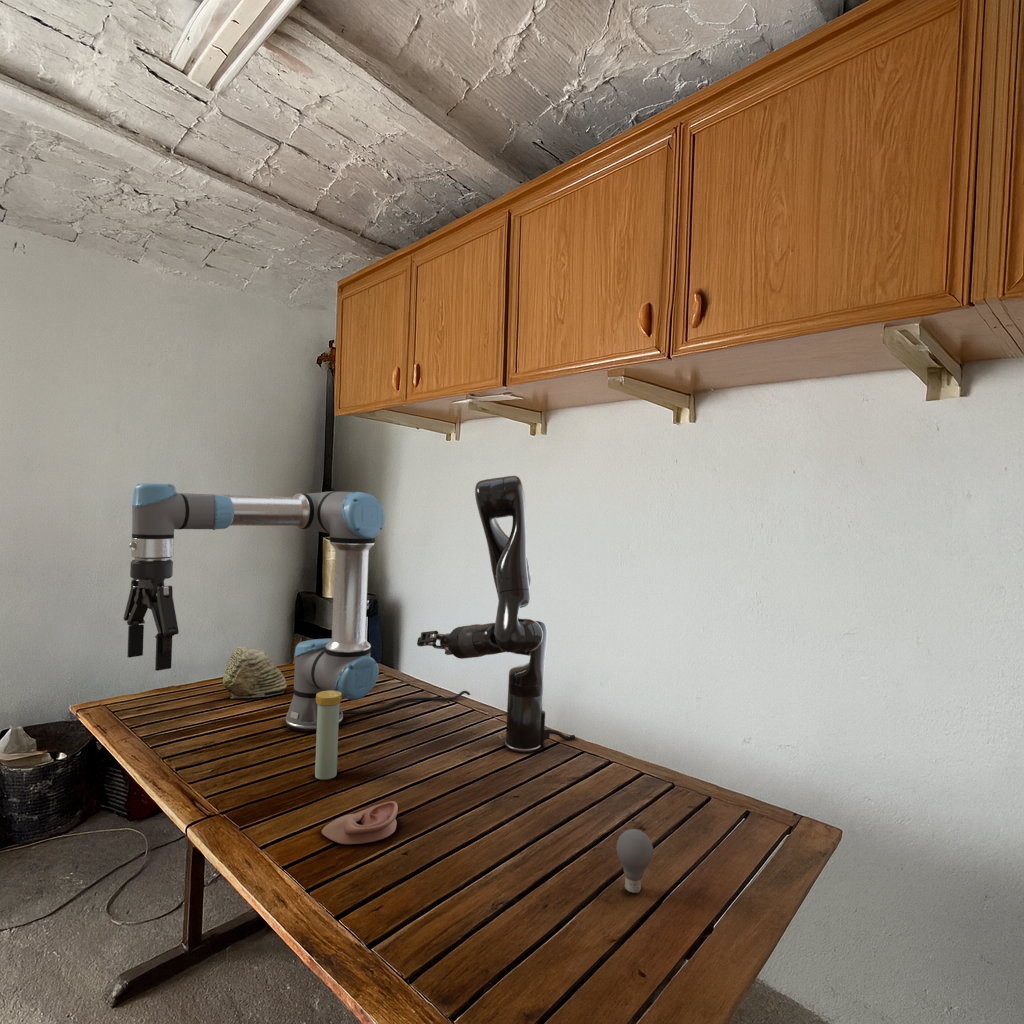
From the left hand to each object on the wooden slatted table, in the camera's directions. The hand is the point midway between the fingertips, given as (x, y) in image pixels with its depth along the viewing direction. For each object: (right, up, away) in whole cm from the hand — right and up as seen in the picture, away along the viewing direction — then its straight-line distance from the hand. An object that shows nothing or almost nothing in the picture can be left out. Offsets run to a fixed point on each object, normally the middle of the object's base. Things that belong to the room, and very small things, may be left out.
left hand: (148, 662), depth 129 cm
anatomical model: (+45, -30, -8) cm, 55 cm away
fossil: (-6, -27, +69) cm, 74 cm away
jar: (+32, -29, +15) cm, 46 cm away
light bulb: (+94, -33, -24) cm, 103 cm away
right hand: (+54, -3, +30) cm, 62 cm away
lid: (+33, -11, +15) cm, 37 cm away
